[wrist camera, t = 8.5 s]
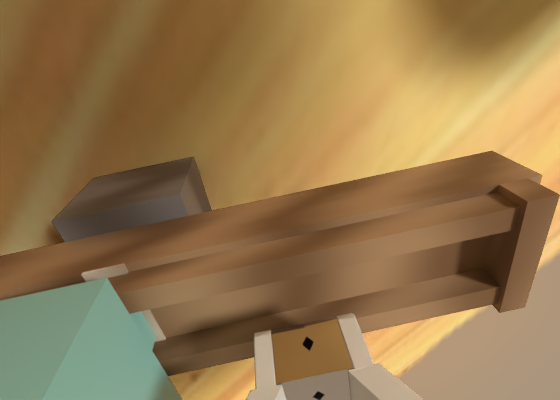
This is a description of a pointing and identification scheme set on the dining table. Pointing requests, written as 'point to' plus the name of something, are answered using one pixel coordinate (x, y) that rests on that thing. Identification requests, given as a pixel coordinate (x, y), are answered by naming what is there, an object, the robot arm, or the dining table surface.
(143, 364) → the block
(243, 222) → the beam
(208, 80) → the dining table surface
